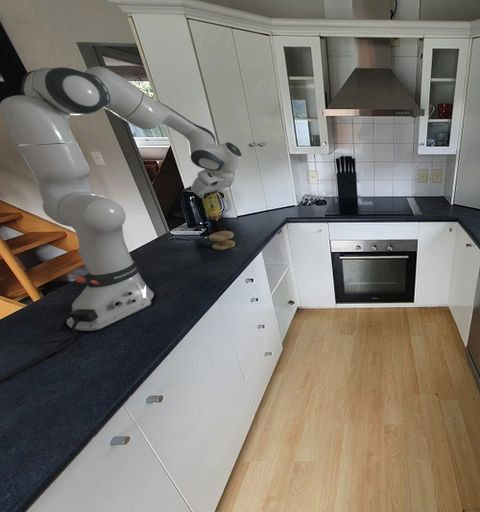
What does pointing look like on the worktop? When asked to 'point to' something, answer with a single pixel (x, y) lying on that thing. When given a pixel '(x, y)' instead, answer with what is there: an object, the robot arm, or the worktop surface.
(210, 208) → the sauce bottle
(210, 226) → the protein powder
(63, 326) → the worktop surface
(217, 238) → the stand
